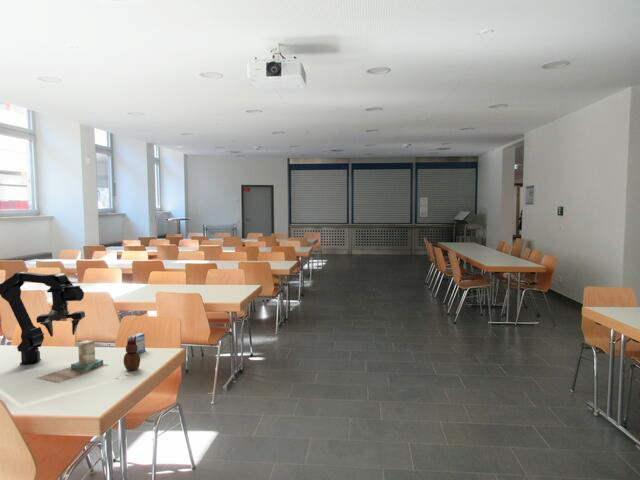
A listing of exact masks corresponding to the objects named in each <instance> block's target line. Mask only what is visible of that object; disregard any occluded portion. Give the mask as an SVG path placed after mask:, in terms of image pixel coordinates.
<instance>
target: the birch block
mask: <svg viewBox="0 0 640 480" xmlns="http://www.w3.org/2000/svg"><path fill="white" fill-rule="evenodd" d="M77 344H78V349H77V350H78V362H79V364H81V365H89V364H91V363H94V362H95V359H96V347H95V346H96V345H95V344H96V343H95V340H90V339H89V340H87V339H86V340H82V341H79V342H78V343H77Z"/></svg>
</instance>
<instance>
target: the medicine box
mask: <svg viewBox="0 0 640 480" xmlns="http://www.w3.org/2000/svg"><path fill="white" fill-rule="evenodd" d="M135 335H136V345H137V353H139V354H141V353H144V351H146V337H145V335H146V334H145V333H144V332H143V333H142V332H141V333H135V334H132V335H130V336H128V337H127V341H129V339H130V340H131V337H133V341H134V337H135Z"/></svg>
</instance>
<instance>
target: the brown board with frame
mask: <svg viewBox="0 0 640 480" xmlns="http://www.w3.org/2000/svg"><path fill="white" fill-rule="evenodd" d="M107 366H109V364H106V363H105V364H104V359H96V358H95V362H94V363H91V364H89V365H81V364H79V361H76V362H74V363H71V364H70V366H67V367H65V368H62V369H59V370H56V371H53V372H51V373H46V374H44V375H41V376H38V377H36V379H38V380H41V381H42V380H43V381H47V382H51V383H57V384H60V383H62V382H65V381H68V380H71V379H74V378H77V377H79V376H82V375H86V374H88V373H91V372H93V371H96V370H99V369H102V368H105V367H107Z"/></svg>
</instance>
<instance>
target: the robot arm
mask: <svg viewBox="0 0 640 480" xmlns="http://www.w3.org/2000/svg"><path fill="white" fill-rule="evenodd" d="M25 282H26V283H27V282H29V283H35V284H36V283H37V284H42V285H45V286H47V287H49V289H47V291H46V292H47V293H51V298H52V299H51V300H52V305H51V309H50V310H49V312H48V313H43V314H40V315H38V316H37V317H36V319H35V320H36V323H37V324H40V325H43V326H44V327H45V329H46V330H47V332H48V334H49V336H50V337H52V338H53V336H54V329H53V321H56V322H59V321H61V320H64V319H72V320H71V321H70V322H71V325H72V326H71V333H72V336H74V335H75V333H76V330H77V329H78V325H79V323H80V321H81V320H83V319H85V317H86V313H85V311H84V310H79V311H74V312H72V313H70V310H69V309H68V305H69V302H80V301H83V299H84V295H85V292H84V289H82V288H81V285H73V283H72V282H71V281H70V279H69V278H68V277H67V275H66V273H64V272H63V273H62V272H60V273H51V274H45V273H36V272H27V271H19V272H18V271H17V272H15V273H13V274H12V276H10V277H9V278H7V279H5V280H4V281H3V282H0V296H1V298H2V299H3V300H4V301H6V302H7V303H8V304H9V306H10V309H11V310H12V313H13V315H14V317H15V319H16V321H17V323H18V326H19V327H20V330H21V333H20V339H21V342H20V343H19V345H17V347H16V349H17V351H18V353H19V352H20V357H21V361H20V363H19V365H34V364H37V363H38V362H40V361H42V359H41V352H40V351H41V350H40V349H39V348H41V347H42V344H43V342H44V339H45V336H44V335H45V333H44V332H43V330H42V328H41V326H38V327H36V326H35V325H34V324H33V322H32V319H31V316H30V314H29V313H28V311H27V309H26V307H25V304H24V303H23V302H24V301H22V298H21V295H22V288H21V287H22V286H24V284H25Z"/></svg>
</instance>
